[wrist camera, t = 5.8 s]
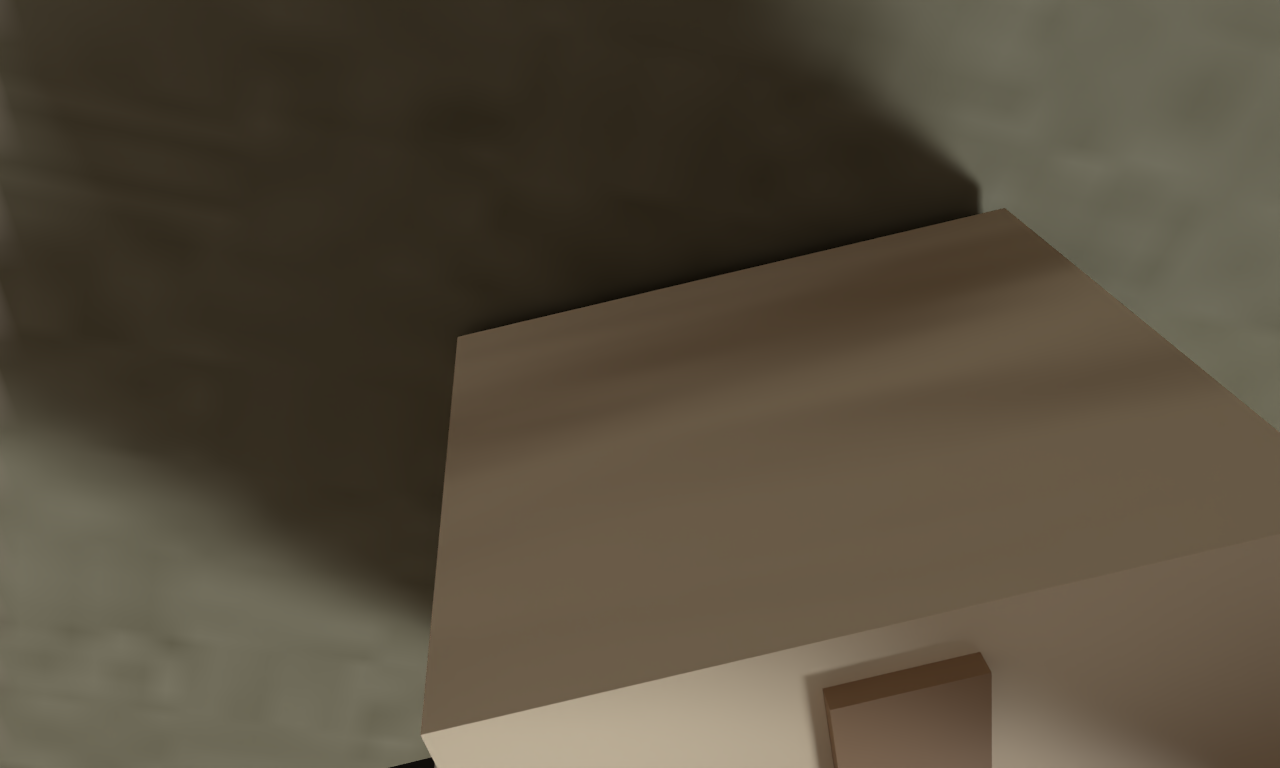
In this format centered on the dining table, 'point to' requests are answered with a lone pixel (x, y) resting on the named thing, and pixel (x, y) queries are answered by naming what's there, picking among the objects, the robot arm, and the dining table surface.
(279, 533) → the dining table surface
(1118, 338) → the birch block
